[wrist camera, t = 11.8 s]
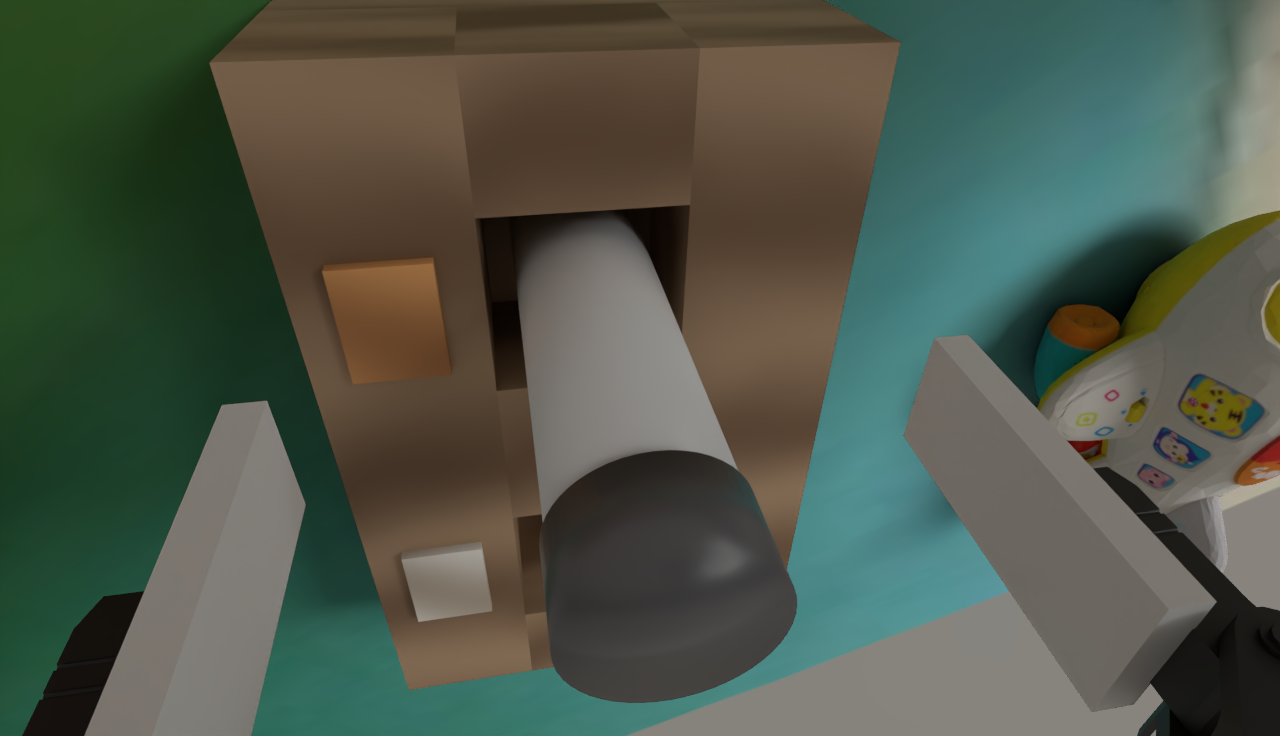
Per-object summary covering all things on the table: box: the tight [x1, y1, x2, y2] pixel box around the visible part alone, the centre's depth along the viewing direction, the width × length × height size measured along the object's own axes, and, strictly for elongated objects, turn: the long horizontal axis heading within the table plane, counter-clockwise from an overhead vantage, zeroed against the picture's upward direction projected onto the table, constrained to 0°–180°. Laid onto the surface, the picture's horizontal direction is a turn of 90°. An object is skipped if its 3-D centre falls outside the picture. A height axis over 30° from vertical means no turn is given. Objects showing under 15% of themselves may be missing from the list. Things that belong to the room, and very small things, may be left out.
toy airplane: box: [1034, 211, 1280, 573], centre depth 29 cm, size 13×9×15 cm
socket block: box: [209, 0, 901, 690], centre depth 24 cm, size 22×14×6 cm, turn 179°
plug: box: [510, 209, 797, 703], centre depth 17 cm, size 4×4×14 cm
